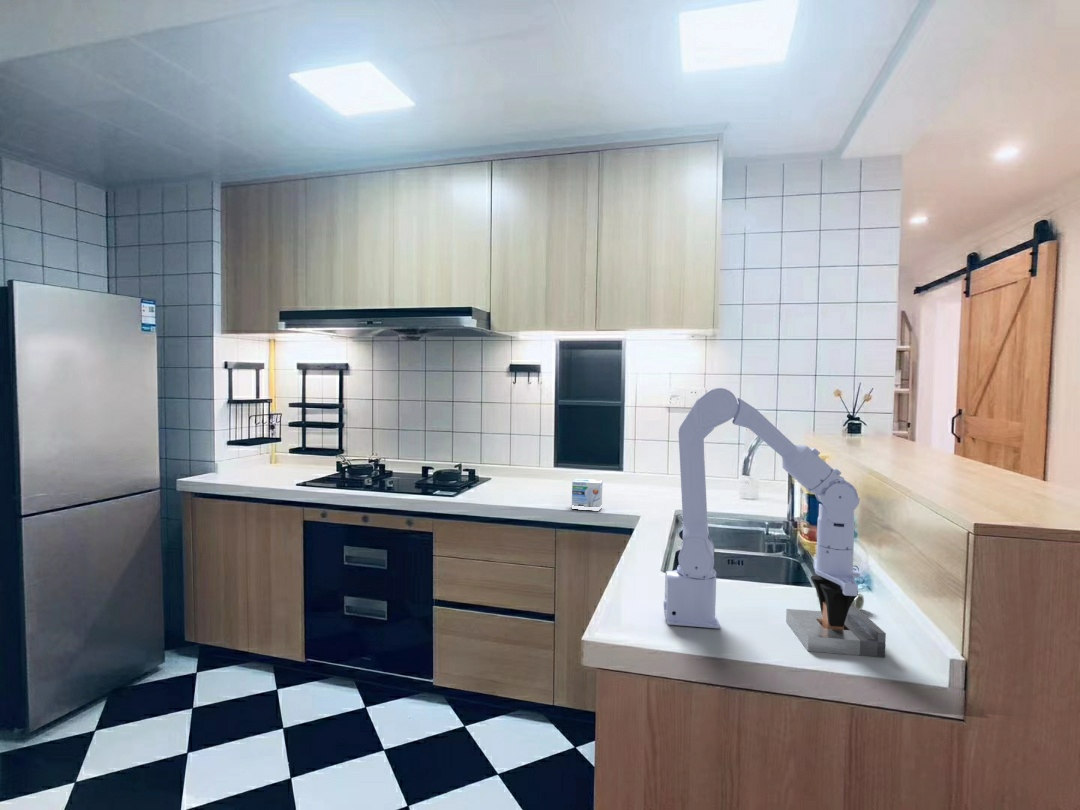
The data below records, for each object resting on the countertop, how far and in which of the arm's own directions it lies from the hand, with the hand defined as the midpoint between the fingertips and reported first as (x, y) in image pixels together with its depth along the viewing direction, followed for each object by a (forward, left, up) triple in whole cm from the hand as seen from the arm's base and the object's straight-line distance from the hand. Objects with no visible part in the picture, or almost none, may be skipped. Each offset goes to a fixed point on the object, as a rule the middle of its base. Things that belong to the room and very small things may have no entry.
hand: (832, 622), depth 97 cm
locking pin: (0, 0, -3) cm, 3 cm away
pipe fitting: (+6, +16, -3) cm, 18 cm away
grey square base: (0, 0, -3) cm, 3 cm away
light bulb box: (-49, +100, -3) cm, 111 cm away
